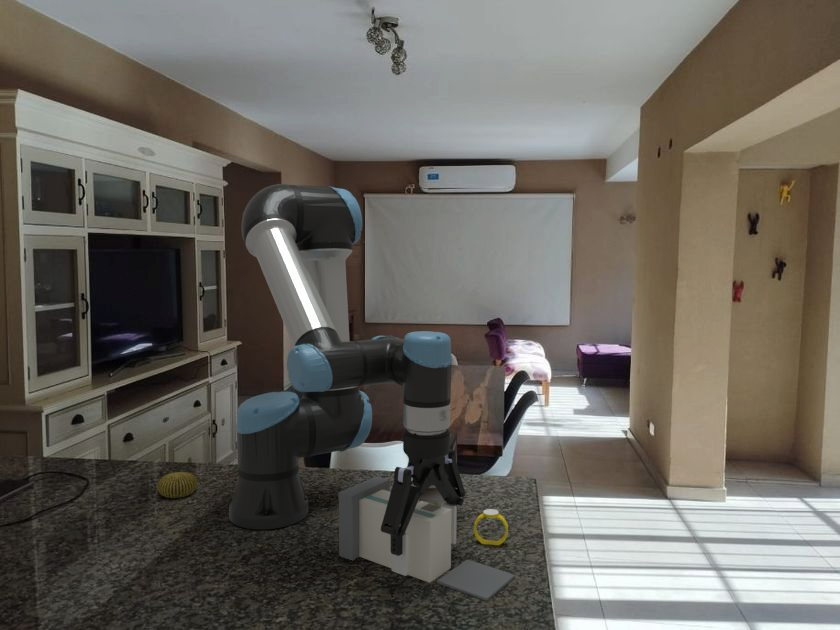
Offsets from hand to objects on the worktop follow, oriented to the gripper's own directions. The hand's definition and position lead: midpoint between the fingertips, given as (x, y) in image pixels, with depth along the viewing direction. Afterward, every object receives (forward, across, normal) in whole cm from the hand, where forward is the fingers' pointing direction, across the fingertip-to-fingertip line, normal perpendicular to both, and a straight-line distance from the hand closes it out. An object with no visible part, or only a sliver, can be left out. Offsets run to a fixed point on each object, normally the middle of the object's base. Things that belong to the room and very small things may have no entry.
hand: (425, 556), depth 108 cm
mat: (+2, +2, -8) cm, 9 cm away
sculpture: (+3, -4, +61) cm, 62 cm away
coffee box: (+2, +19, +10) cm, 22 cm away
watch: (+2, +15, -4) cm, 16 cm away
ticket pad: (+2, 0, +10) cm, 10 cm away
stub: (+2, 0, 0) cm, 2 cm away
